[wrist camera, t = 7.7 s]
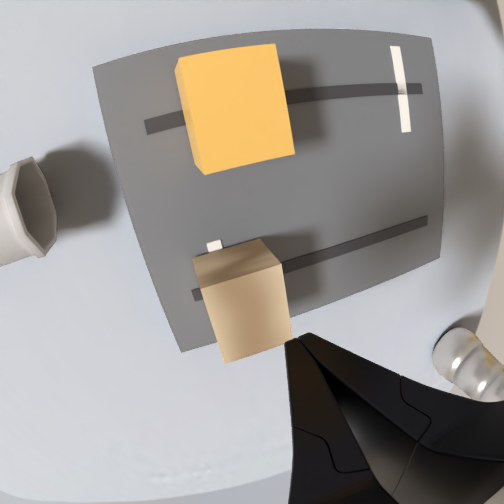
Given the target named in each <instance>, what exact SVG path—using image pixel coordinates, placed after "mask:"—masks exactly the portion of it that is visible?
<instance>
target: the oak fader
mask: <svg viewBox="0 0 504 504" xmlns="http://www.w3.org/2000/svg"><path fill="white" fill-rule="evenodd" d="M192 262H193V265H194V269H195V272H196V276H197V279H198V283H199V286H200V289H201V293H202V296H203V299H204V302H205V305H206V308H207V311H208V315H209V318H210V321H211V324H212V327H213V330H214V333H215V336H216V339H217V342H218V345H219V348H220V351H221V354H222V357H223V359H224V362H225V364H226V363H229V362H232V361H235V360H238V359H242V358H245V357H248V356H251V355H254V354H257V353H260V352H263V351H266V350H268V349H271V348H274V347H277V346H280V345H283V344H284V343H285V342H286V341H288V340H291V339H293V337H292V330H291V323H290V316H289V309H288V303H287V296H286V289H285V283H284V277H283V270H282V264H281V263H280V262H279V260H278V259H277V258H276V257H275V256H274V255H273V253H272V252H271V251H270V250H269V249H268V248H267V247H266V245H265V244H264V243H263V242H262V241H261V240H260V238H259V239H256V240H252V241H249V242H246V243H242V244H239V245H235V246H232V247H228V248H225V249H222V250H218V251H215V252H211V253H208V254H205V255H201V256H198V257H194V258H192Z"/></svg>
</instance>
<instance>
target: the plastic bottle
mask: <svg viewBox="0 0 504 504" xmlns="http://www.w3.org/2000/svg"><path fill="white" fill-rule="evenodd" d="M432 360H433V365H434V367H435V369H436V370H437V372H438V373H439V374H440V375H441V376H443V377H444V378H445V379H447V380H448V381H450V382H451V383H454V384H455V385H456V386H457V387H459V388H460V389H461V390H462V391H463V392H465V393H466V394H467V395H468V396H469V397H470V398H471V399H473V400H477V401H482V402H497V401H502V400H504V365H502V364H501V363H500V362H499V361H498V360H497V359H496V358H495V357H494V356H493V355H492V354H491V353H490V352H489V351H488V350H487V349H486V348H485V347H484V346H483V344H482V342H481V341H480V340H479V338H478V337H477V336H476V335H475V334H474V333H473V332H471V331H469V330H467V329H465V328H453V329H451V330H450V331H448V332H447V333H446V334H445V335H444V336H443V337H442V338H441V339H440V341H439V342H438V343H437V345H436V347H435V349H434V351H433V354H432Z"/></svg>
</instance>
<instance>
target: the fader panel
mask: <svg viewBox="0 0 504 504" xmlns="http://www.w3.org/2000/svg"><path fill="white" fill-rule="evenodd" d="M264 44H275V45H276V50H277V55H278V60H279V65H280V70H281V75H282V81H283V86H284V92H285V97H286V103H287V108H288V114H289V120H290V126H291V132H292V138H293V145H294V151H295V154H293V155H288V156H283V157H279V158H274V159H270V160H265V161H261V162H256V163H252V164H248V165H243V166H239V167H235V168H231V169H227V170H223V171H219V172H215V173H211V174H207V175H204V174H203V173H202V172H201V171H200V169H199V168H198V167H197V166H196V165H195V163H194V158H193V154H192V150H191V145H190V141H189V136H188V132H187V127H186V123H185V118H184V114H183V109H182V105H181V100H180V95H179V91H178V86H177V81H176V76H175V68H176V65H177V62H178V60H179V58H180V57H185V56H190V55H195V54H200V53H206V52H212V51H218V50H224V49H231V48H238V47H246V46H255V45H264ZM92 68H93V73H94V78H95V84H96V88H97V93H98V98H99V103H100V107H101V112H102V116H103V120H104V125H105V129H106V133H107V137H108V141H109V145H110V149H111V153H112V156H113V160H114V164H115V167H116V171H117V175H118V178H119V182H120V185H121V188H122V192H123V195H124V198H125V202H126V205H127V208H128V211H129V215H130V218H131V221H132V224H133V227H134V230H135V233H136V236H137V239H138V242H139V245H140V248H141V251H142V254H143V257H144V259H145V262H146V265H147V268H148V270H149V273H150V276H151V279H152V281H153V284H154V287H155V289H156V292H157V295H158V297H159V300H160V302H161V305H162V307H163V310H164V312H165V315H166V317H167V320H168V322H169V325H170V327H171V329H172V332H173V334H174V337H175V339H176V341H177V344H178V346H179V348H180V351H181V353H182V352H185V351H189V350H192V349H195V348H199V347H202V346H206V345H209V344H212V343H215V342H217V339H216V336H215V333H214V330H213V327H212V324H211V321H210V318H209V315H208V311H207V308H206V305H205V302H204V299H203V296H202V293H201V289H200V286H199V283H198V279H197V276H196V272H195V269H194V265H193V262H192V258H194V257H198V256H201V255H205V254H208V253H211V252H215V251H218V250H222V249H225V248H228V247H232V246H235V245H239V244H242V243H246V242H249V241H252V240H256V239H259V238H260V240H261V241H262V242H263V243H264V244H265V245H266V247H267V248H268V249H269V250H270V251H271V252H272V253H273V255H274V256H275V257H276V258H277V259H278V260H279V262H280V263H281V264H282V270H283V277H284V283H285V289H286V296H287V303H288V309H289V316H290V318H291V317H294V316H297V315H300V314H302V313H305V312H308V311H311V310H313V309H316V308H319V307H322V306H324V305H327V304H330V303H332V302H335V301H337V300H340V299H343V298H345V297H348V296H350V295H353V294H355V293H358V292H361V291H363V290H366V289H368V288H371V287H373V286H375V285H378V284H380V283H383V282H385V281H388V280H390V279H392V278H395V277H397V276H399V275H402V274H404V273H406V272H409V271H411V270H413V269H416V268H418V267H420V266H423V265H425V264H427V263H429V262H431V261H434V260H436V259H438V258H440V248H441V237H442V222H443V200H444V151H443V129H442V115H441V104H440V94H439V86H438V78H437V70H436V64H435V58H434V52H433V46H432V41H431V38H427V37H421V36H414V35H407V34H399V33H390V32H380V31H367V30H348V29H293V30H275V31H262V32H251V33H242V34H233V35H226V36H219V37H212V38H206V39H200V40H195V41H189V42H184V43H179V44H174V45H170V46H165V47H161V48H157V49H153V50H149V51H145V52H141V53H137V54H134V55H130V56H127V57H123V58H120V59H116V60H113V61H110V62H107V63H104V64H101V65H98V66H95V67H92Z"/></svg>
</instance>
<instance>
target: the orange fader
mask: <svg viewBox="0 0 504 504" xmlns="http://www.w3.org/2000/svg"><path fill="white" fill-rule="evenodd" d="M175 76H176V81H177V86H178V91H179V95H180V100H181V105H182V109H183V114H184V118H185V123H186V127H187V132H188V136H189V141H190V145H191V150H192V154H193V158H194V163H195V165H196V166H197V167H198V168H199V169H200V171H201V172H202V173H203V174H204V175H207V174H211V173H215V172H219V171H223V170H227V169H231V168H235V167H239V166H243V165H248V164H252V163H256V162H261V161H265V160H270V159H274V158H279V157H283V156H288V155H293V154H295V151H294V145H293V138H292V132H291V126H290V120H289V114H288V108H287V103H286V97H285V92H284V86H283V81H282V75H281V70H280V65H279V60H278V55H277V50H276V45H275V44H264V45H255V46H246V47H238V48H231V49H224V50H218V51H212V52H206V53H200V54H195V55H190V56H185V57H180V58H179V60H178V62H177V65H176V68H175Z"/></svg>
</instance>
